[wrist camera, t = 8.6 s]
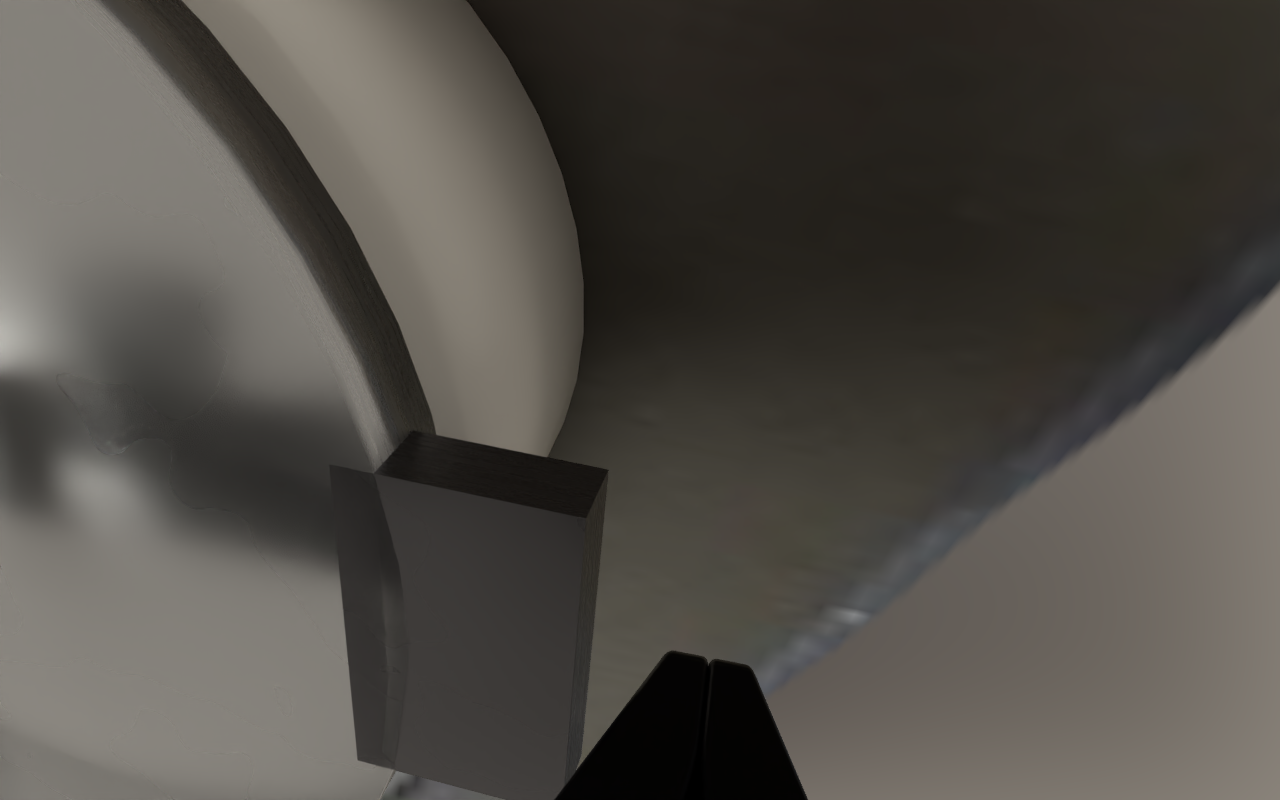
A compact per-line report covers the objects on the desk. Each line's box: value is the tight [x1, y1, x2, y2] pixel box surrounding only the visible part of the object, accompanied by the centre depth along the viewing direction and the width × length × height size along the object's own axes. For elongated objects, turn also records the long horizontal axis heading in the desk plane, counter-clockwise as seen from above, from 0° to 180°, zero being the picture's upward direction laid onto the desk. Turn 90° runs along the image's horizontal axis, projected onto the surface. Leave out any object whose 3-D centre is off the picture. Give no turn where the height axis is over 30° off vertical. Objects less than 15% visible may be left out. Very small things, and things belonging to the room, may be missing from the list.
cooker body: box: [182, 0, 584, 457], centre depth 14 cm, size 16×20×6 cm
